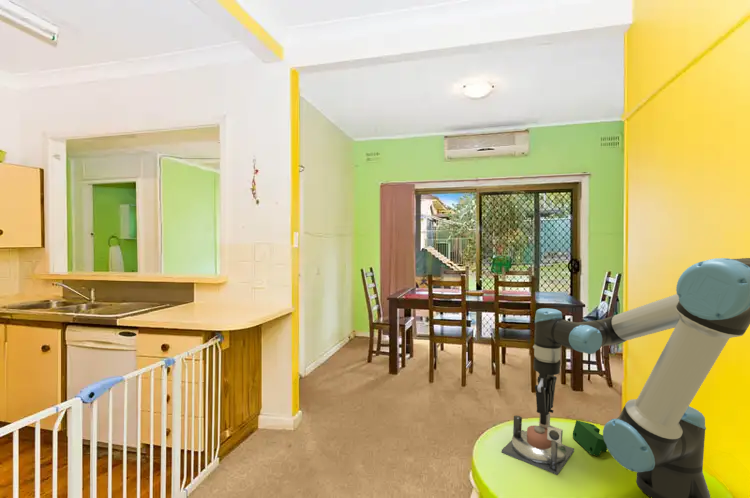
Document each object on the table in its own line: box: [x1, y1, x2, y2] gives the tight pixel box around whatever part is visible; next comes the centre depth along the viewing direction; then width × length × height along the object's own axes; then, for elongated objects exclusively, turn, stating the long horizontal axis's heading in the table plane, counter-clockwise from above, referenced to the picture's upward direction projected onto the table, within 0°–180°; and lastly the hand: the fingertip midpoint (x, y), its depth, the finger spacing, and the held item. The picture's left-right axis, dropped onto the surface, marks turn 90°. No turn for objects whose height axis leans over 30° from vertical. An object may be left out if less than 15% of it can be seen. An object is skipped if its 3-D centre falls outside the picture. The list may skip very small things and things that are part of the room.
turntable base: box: [501, 424, 575, 476], centre depth 118 cm, size 16×16×12 cm
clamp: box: [572, 419, 608, 457], centre depth 121 cm, size 12×6×9 cm, turn 177°
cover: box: [526, 425, 551, 449], centre depth 119 cm, size 7×7×4 cm
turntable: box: [511, 415, 566, 464], centre depth 118 cm, size 15×15×8 cm
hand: (544, 432), depth 122 cm, fingers closed
